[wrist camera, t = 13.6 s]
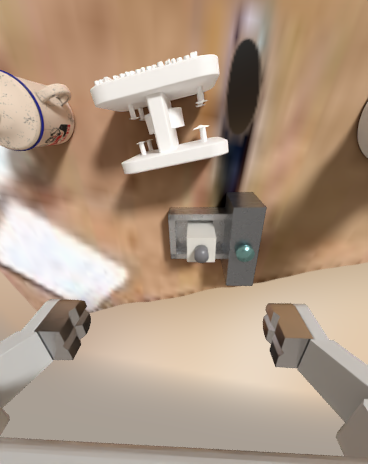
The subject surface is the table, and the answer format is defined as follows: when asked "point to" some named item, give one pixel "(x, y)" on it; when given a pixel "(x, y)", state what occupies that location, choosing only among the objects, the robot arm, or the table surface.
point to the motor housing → (225, 234)
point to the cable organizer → (163, 108)
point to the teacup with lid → (33, 113)
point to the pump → (201, 241)
